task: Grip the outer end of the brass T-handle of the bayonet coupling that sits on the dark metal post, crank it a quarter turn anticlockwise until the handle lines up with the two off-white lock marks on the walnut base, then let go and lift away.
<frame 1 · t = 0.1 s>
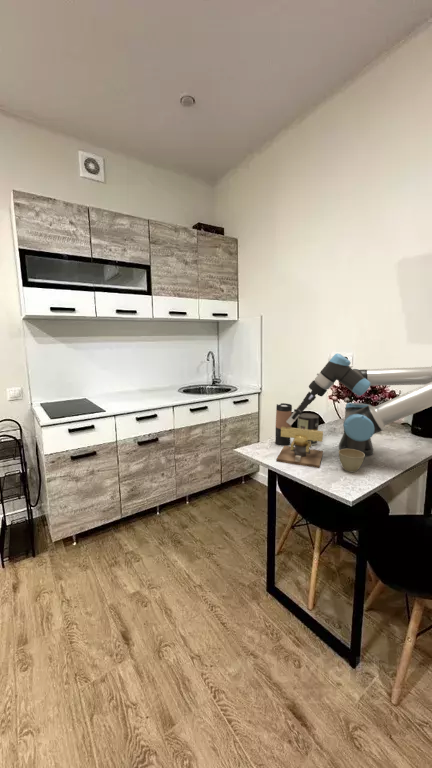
hand: (291, 419, 154), 15 cm above the table, tool tilted 35°, fingers open, 13 cm apart
coupling: (301, 438, 148), point 9 cm above the table, hinge at 0.0°
flower pot: (350, 469, 137), on the table
travel mug: (282, 443, 168), on the table
coffee can: (306, 442, 170), on the table
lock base: (300, 457, 150), on the table
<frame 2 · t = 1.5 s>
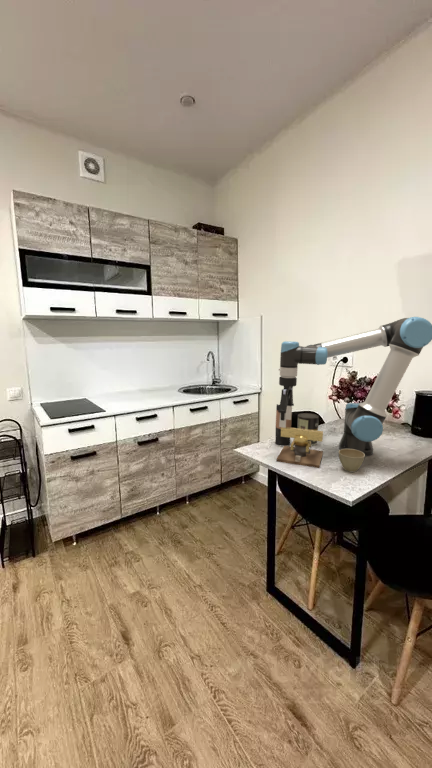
hand: (285, 423, 150), 15 cm above the table, tool pointing down, fingers open, 13 cm apart
nothing on the table moved.
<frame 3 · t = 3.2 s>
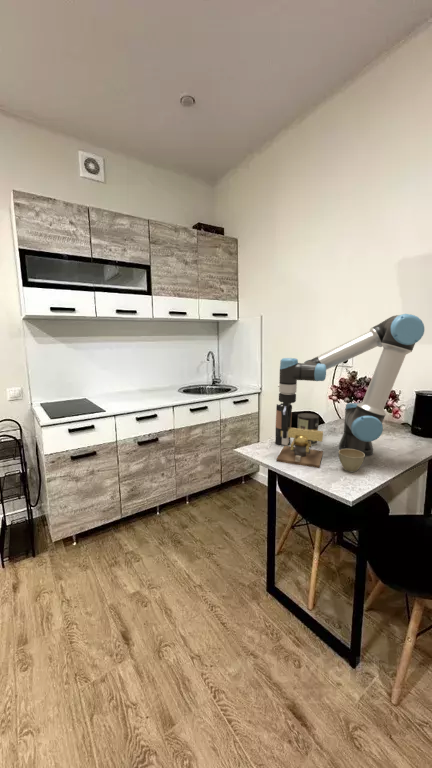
hand: (285, 443, 151), 5 cm above the table, tool pointing down, fingers closed on coupling, 2 cm apart
coupling: (301, 438, 148), point 9 cm above the table, hinge at 0.0°, touching gripper
everything else where it was.
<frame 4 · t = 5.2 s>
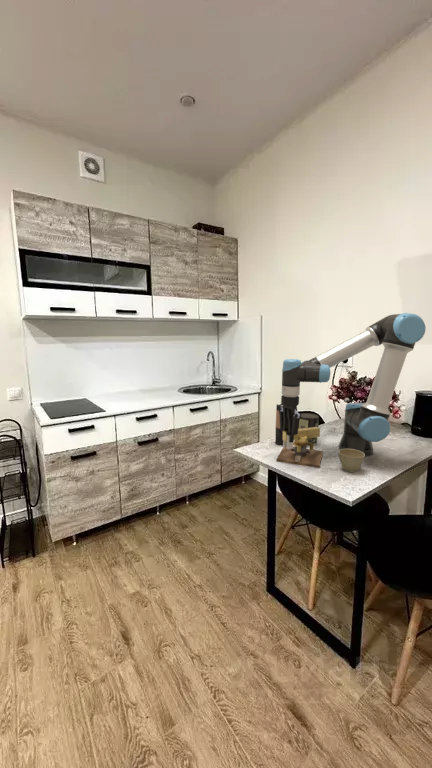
hand: (287, 447, 146), 5 cm above the table, tool pointing down, fingers closed on coupling, 2 cm apart
coupling: (301, 438, 148), point 9 cm above the table, hinge at 43.4°, touching gripper
everything else where it was.
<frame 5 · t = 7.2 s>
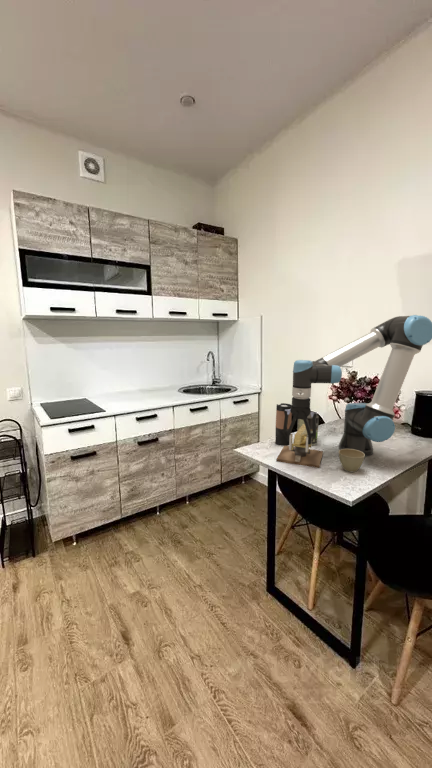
hand: (298, 449, 142), 6 cm above the table, tool pointing down, fingers open, 6 cm apart
coupling: (301, 438, 148), point 9 cm above the table, hinge at 87.4°
everything else where it was.
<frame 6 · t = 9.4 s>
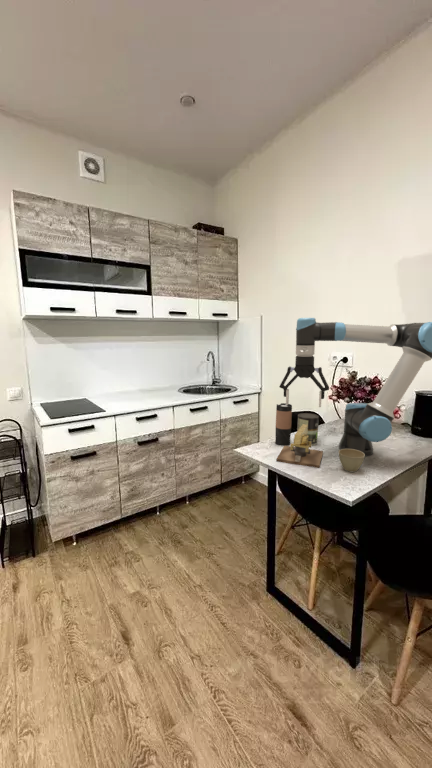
hand: (303, 405, 142), 25 cm above the table, tool pointing down, fingers open, 13 cm apart
nothing on the table moved.
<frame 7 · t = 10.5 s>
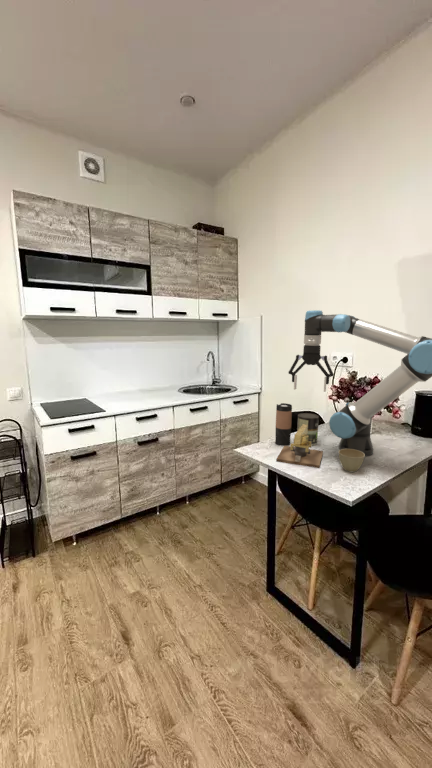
hand: (309, 390, 156), 29 cm above the table, tool pointing down, fingers open, 13 cm apart
nothing on the table moved.
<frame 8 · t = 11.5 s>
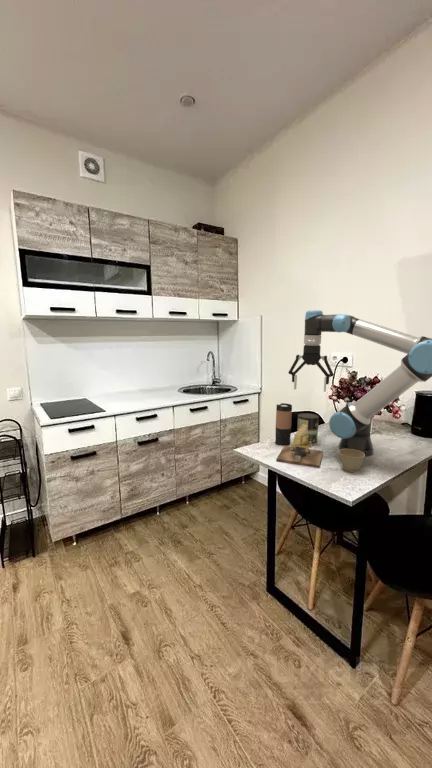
hand: (309, 390, 156), 29 cm above the table, tool pointing down, fingers open, 13 cm apart
nothing on the table moved.
at the end: coupling at +87° (first picture: +0°); the gripper is holding nothing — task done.
